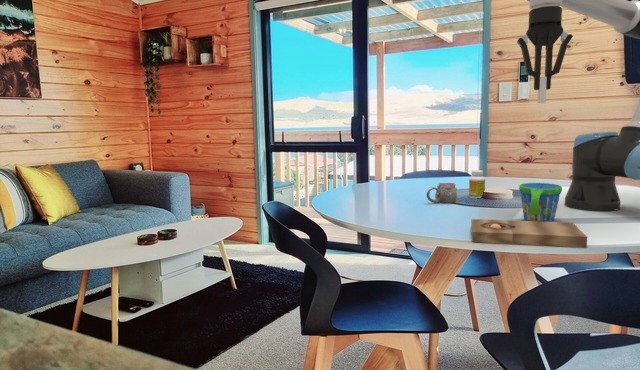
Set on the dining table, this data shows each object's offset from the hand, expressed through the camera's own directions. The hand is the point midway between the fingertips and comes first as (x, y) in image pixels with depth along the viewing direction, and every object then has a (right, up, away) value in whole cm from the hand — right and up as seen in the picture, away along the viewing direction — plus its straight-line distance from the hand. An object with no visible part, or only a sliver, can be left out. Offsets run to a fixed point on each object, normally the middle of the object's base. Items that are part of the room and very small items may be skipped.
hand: (541, 102), depth 120 cm
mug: (-16, -28, +39) cm, 50 cm away
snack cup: (+3, -32, +7) cm, 33 cm away
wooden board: (-8, -34, -8) cm, 36 cm away
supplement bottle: (-1, -26, +47) cm, 53 cm away
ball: (-14, -33, -6) cm, 36 cm away
